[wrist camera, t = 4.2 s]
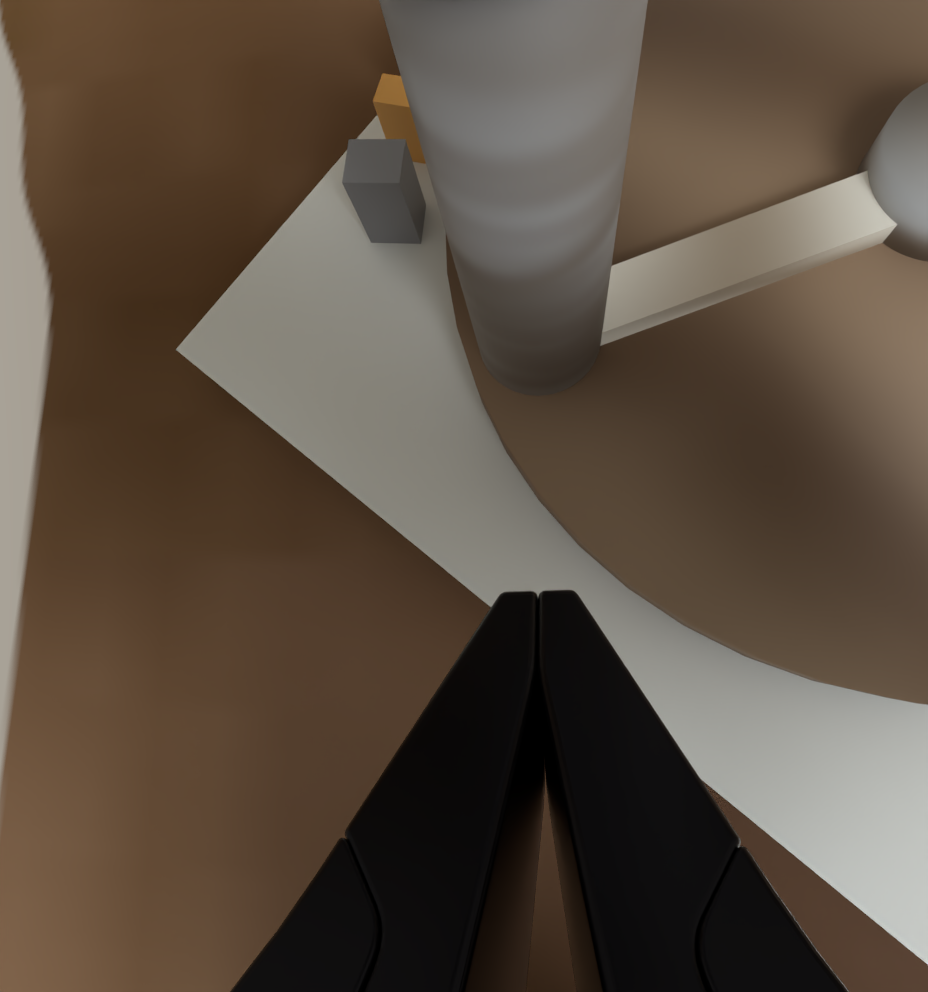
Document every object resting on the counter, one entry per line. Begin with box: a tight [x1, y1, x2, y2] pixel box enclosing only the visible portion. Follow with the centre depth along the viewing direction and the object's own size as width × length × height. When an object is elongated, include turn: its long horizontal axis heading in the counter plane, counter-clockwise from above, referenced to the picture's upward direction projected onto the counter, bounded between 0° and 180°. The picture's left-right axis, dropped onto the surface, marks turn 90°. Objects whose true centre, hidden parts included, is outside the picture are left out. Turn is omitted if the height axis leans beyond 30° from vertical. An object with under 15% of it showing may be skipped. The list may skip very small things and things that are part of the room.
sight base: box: [176, 73, 928, 965], centre depth 14 cm, size 23×23×4 cm
